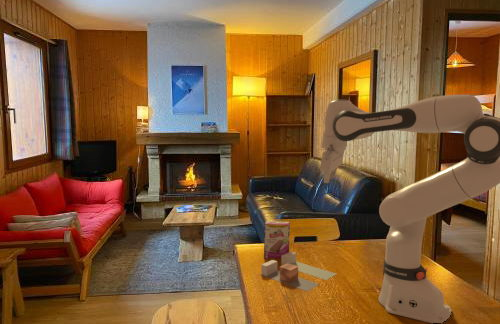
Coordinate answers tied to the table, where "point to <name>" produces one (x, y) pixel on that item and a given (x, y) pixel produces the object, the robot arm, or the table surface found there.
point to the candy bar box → (276, 239)
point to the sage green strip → (305, 267)
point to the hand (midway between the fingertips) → (329, 180)
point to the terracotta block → (289, 273)
